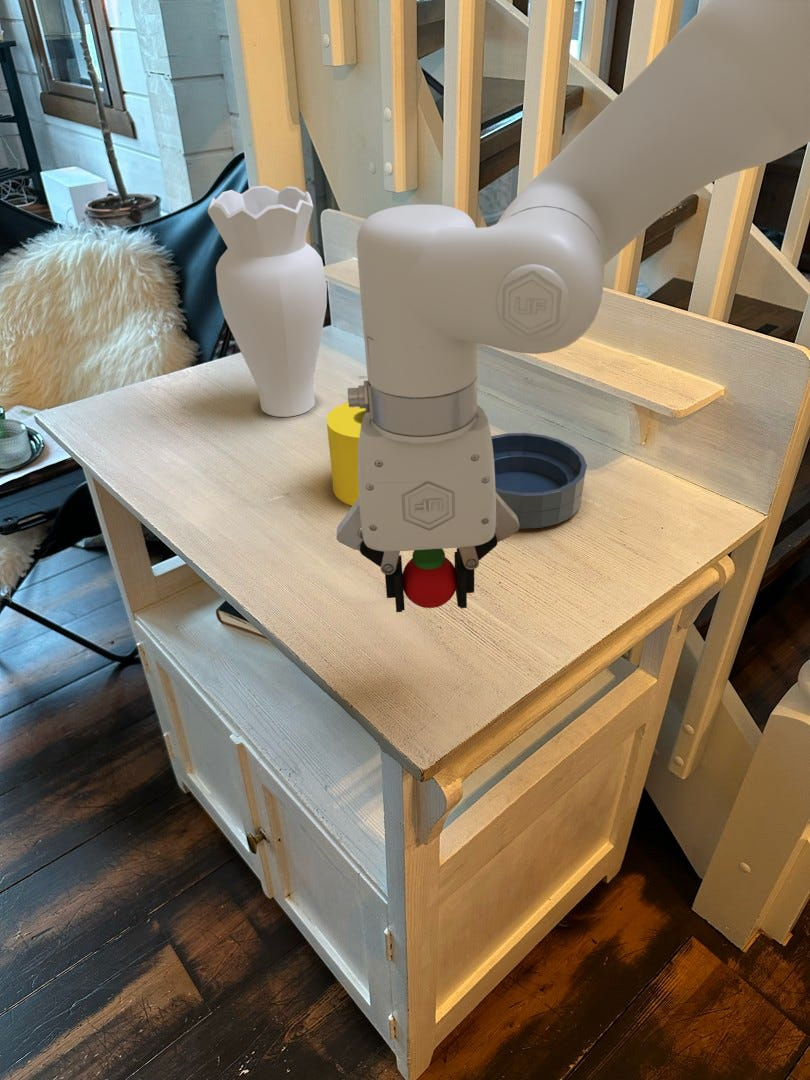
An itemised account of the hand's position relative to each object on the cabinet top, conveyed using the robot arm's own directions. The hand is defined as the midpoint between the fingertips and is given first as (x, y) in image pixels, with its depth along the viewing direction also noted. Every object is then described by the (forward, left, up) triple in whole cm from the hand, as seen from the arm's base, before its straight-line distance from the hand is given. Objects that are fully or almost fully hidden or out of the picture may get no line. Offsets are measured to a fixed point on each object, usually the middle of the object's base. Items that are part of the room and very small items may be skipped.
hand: (430, 597), depth 63 cm
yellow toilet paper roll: (+15, -28, -9) cm, 33 cm away
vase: (+35, -46, -9) cm, 59 cm away
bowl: (-3, -30, -8) cm, 31 cm away
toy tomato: (0, 0, 0) cm, 0 cm away
